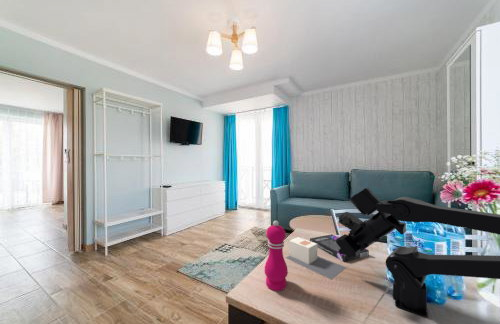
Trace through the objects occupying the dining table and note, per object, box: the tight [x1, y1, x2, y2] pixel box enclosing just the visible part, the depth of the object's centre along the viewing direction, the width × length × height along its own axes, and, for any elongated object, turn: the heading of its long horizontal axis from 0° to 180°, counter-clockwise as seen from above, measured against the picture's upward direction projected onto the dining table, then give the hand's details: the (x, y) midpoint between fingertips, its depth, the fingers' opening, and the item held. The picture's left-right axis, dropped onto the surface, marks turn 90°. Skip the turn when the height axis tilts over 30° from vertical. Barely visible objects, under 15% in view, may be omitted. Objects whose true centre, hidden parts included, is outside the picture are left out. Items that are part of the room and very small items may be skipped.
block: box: [288, 236, 318, 264], centre depth 78 cm, size 6×6×9 cm
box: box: [309, 234, 370, 263], centre depth 85 cm, size 14×4×20 cm
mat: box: [285, 255, 347, 280], centre depth 74 cm, size 19×11×1 cm, turn 40°
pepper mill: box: [264, 220, 289, 292], centre depth 61 cm, size 7×7×20 cm
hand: (339, 252), depth 66 cm, fingers closed
